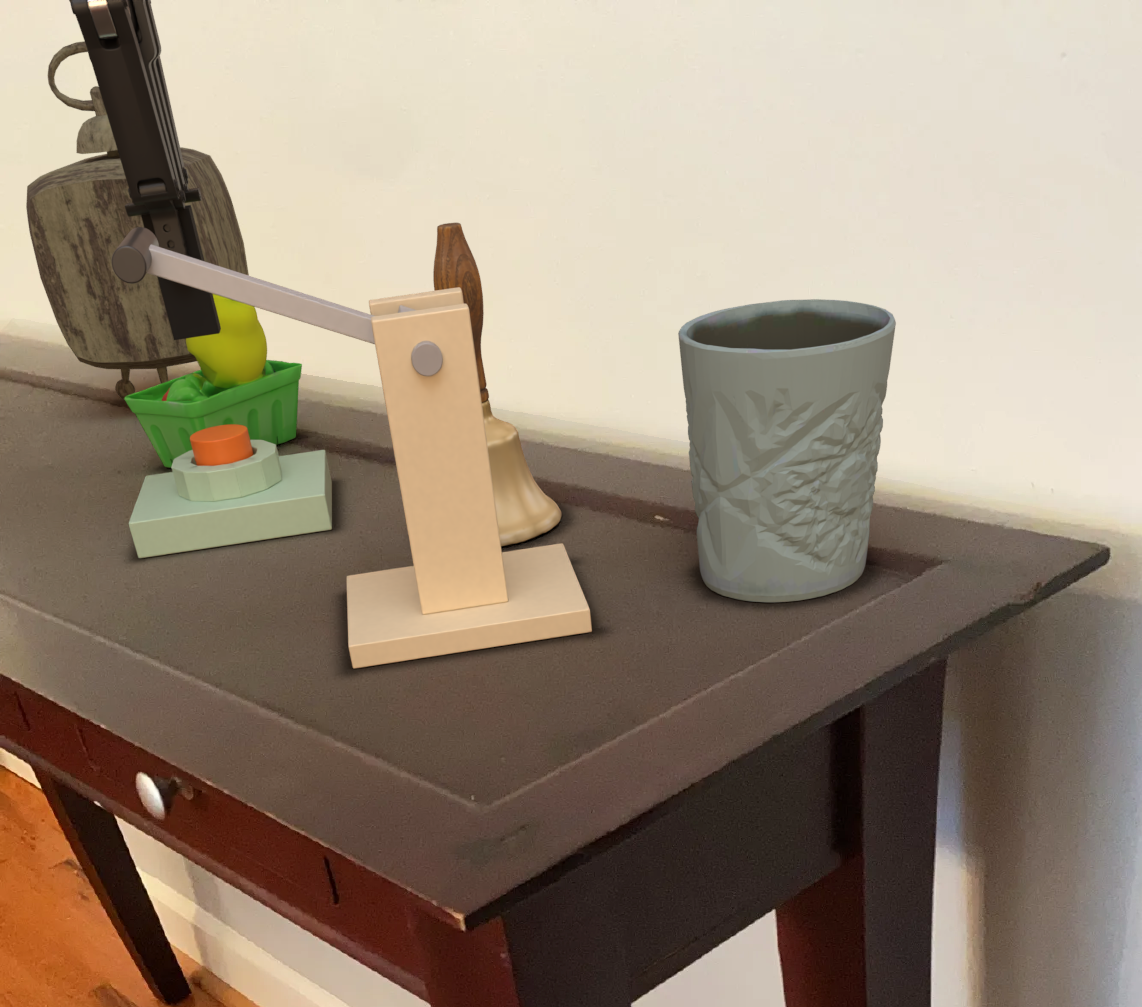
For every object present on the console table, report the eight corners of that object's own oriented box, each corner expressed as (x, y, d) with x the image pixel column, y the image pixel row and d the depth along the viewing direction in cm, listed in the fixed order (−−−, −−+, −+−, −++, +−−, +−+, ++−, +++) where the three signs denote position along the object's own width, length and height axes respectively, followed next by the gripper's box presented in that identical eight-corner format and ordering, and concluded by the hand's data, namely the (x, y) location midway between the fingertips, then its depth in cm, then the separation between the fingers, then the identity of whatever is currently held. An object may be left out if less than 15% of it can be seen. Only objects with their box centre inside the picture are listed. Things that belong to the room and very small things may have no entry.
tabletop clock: (274, 382, 118) (195, 25, 103) (244, 412, 111) (155, 34, 96) (115, 397, 121) (14, 49, 105) (75, 427, 113) (-38, 58, 98)
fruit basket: (249, 426, 108) (211, 264, 101) (333, 434, 103) (299, 266, 96) (139, 472, 101) (90, 301, 94) (224, 483, 96) (179, 304, 89)
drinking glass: (687, 546, 77) (675, 309, 70) (872, 529, 76) (879, 288, 69) (694, 616, 69) (681, 358, 62) (899, 599, 68) (911, 334, 61)
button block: (138, 559, 85) (118, 493, 83) (154, 509, 93) (137, 447, 91) (332, 530, 86) (318, 463, 83) (332, 482, 94) (319, 420, 91)
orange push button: (194, 474, 86) (187, 444, 85) (199, 457, 89) (191, 429, 88) (252, 465, 86) (245, 436, 85) (255, 449, 89) (248, 421, 88)
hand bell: (401, 548, 82) (346, 243, 72) (460, 501, 88) (417, 213, 78) (529, 552, 79) (491, 236, 69) (582, 503, 85) (553, 205, 75)
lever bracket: (352, 669, 68) (284, 345, 59) (350, 596, 76) (289, 301, 67) (592, 632, 69) (560, 305, 60) (565, 564, 77) (533, 266, 68)
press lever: (107, 289, 59) (114, 228, 58) (122, 267, 64) (129, 210, 62) (450, 395, 64) (463, 340, 62) (442, 368, 68) (455, 316, 67)
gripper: (126, -210, 63) (255, 347, 78) (154, -183, 74) (264, 304, 88) (-39, -188, 63) (121, 368, 77) (13, -164, 73) (146, 322, 88)
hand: (197, 333), depth 83 cm, fingers closed
